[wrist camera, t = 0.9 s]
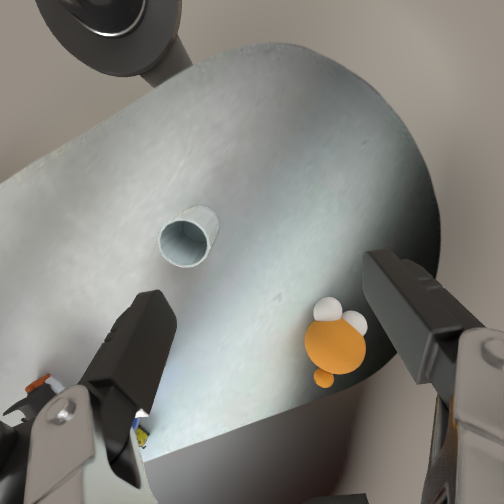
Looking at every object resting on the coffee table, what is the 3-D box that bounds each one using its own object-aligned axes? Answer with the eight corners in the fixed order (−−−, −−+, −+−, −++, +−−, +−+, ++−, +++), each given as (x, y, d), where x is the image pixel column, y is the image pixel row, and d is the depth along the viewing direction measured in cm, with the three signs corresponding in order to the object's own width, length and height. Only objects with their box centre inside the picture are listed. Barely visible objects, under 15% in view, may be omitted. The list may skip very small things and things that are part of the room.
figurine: (41, 374, 48) (83, 431, 50) (-18, 416, 38) (37, 486, 40) (68, 360, 47) (110, 419, 49) (15, 399, 37) (70, 471, 39)
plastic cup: (173, 215, 35) (147, 231, 26) (207, 198, 35) (193, 209, 25) (193, 248, 37) (175, 275, 28) (226, 233, 36) (218, 255, 27)
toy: (339, 351, 47) (373, 301, 39) (345, 403, 40) (389, 355, 31) (293, 339, 48) (316, 287, 39) (290, 387, 40) (319, 336, 31)
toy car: (102, 439, 51) (93, 455, 48) (137, 420, 49) (130, 436, 46) (118, 452, 52) (111, 468, 49) (153, 434, 51) (147, 450, 48)
